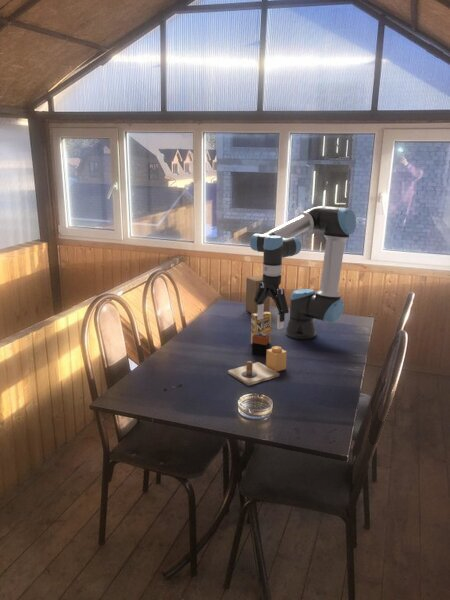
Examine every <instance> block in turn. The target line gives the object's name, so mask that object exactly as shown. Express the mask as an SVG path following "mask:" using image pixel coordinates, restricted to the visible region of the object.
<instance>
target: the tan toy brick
mask: <svg viewBox="0 0 450 600" xmlns="http://www.w3.org/2000/svg"><path fill="white" fill-rule="evenodd" d="M265 358H266V359H265V364H266V365H265V366H267V367H268V368H270V369H272V370H274V371H276V372H277V373H278V372H281V371H283V370H286V369H287V351H286V350H284V349H283V347H281V346H279V345H273V346H272V347H271V348H269V349H268V350H267V355H266V356H265Z"/></svg>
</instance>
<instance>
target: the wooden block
mask: <svg viewBox="0 0 450 600" xmlns="http://www.w3.org/2000/svg"><path fill="white" fill-rule="evenodd" d="M262 280H263V275H254V276H247V277H246V284H245V285H246V289H245V290H246V291H245V292H246V294H245V311H246V312H248V313H251V314H252V313H257V303H256V302H254V298H255V296H256V293H257V291H258V288H259V283H261V282H262ZM270 298H271V297H270V296H267V298H266V299H265V300H264V303H262V304H264V312H266V311H268V312H270ZM257 299H258V298H257Z"/></svg>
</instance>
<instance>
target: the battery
mask: <svg viewBox="0 0 450 600" xmlns="http://www.w3.org/2000/svg"><path fill="white" fill-rule="evenodd" d="M268 349H270V343H269V335H267V334H266V333H262V334H260V333H258V332H256V333H255V334H254V335H253V336H252V344H251V354H252V355H257V356H261V357H266V355H267V350H268Z"/></svg>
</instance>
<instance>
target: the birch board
mask: <svg viewBox="0 0 450 600" xmlns="http://www.w3.org/2000/svg"><path fill="white" fill-rule="evenodd" d="M227 373H228V374H229V375H230V376H232V377H234V378H235V379H236V380H238V381H240V382H241V383H243V384H245V385H246V386H249V387H250V386H253V385H255V384H258V383H262V382H265V381H269V380H272V379H275V378H278V377H280V373H279V372H278V371H277V372H276V371H274V370H272V369H270V368H268V367H267V366H266V365H265V364H263V363H261V362H259V361H256V362H254V363H253V361H252V360H248V361H246V365H244V366H243V365H242V366H239V367H236V368H235V367H234V368H232V369H228V370H227Z"/></svg>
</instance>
